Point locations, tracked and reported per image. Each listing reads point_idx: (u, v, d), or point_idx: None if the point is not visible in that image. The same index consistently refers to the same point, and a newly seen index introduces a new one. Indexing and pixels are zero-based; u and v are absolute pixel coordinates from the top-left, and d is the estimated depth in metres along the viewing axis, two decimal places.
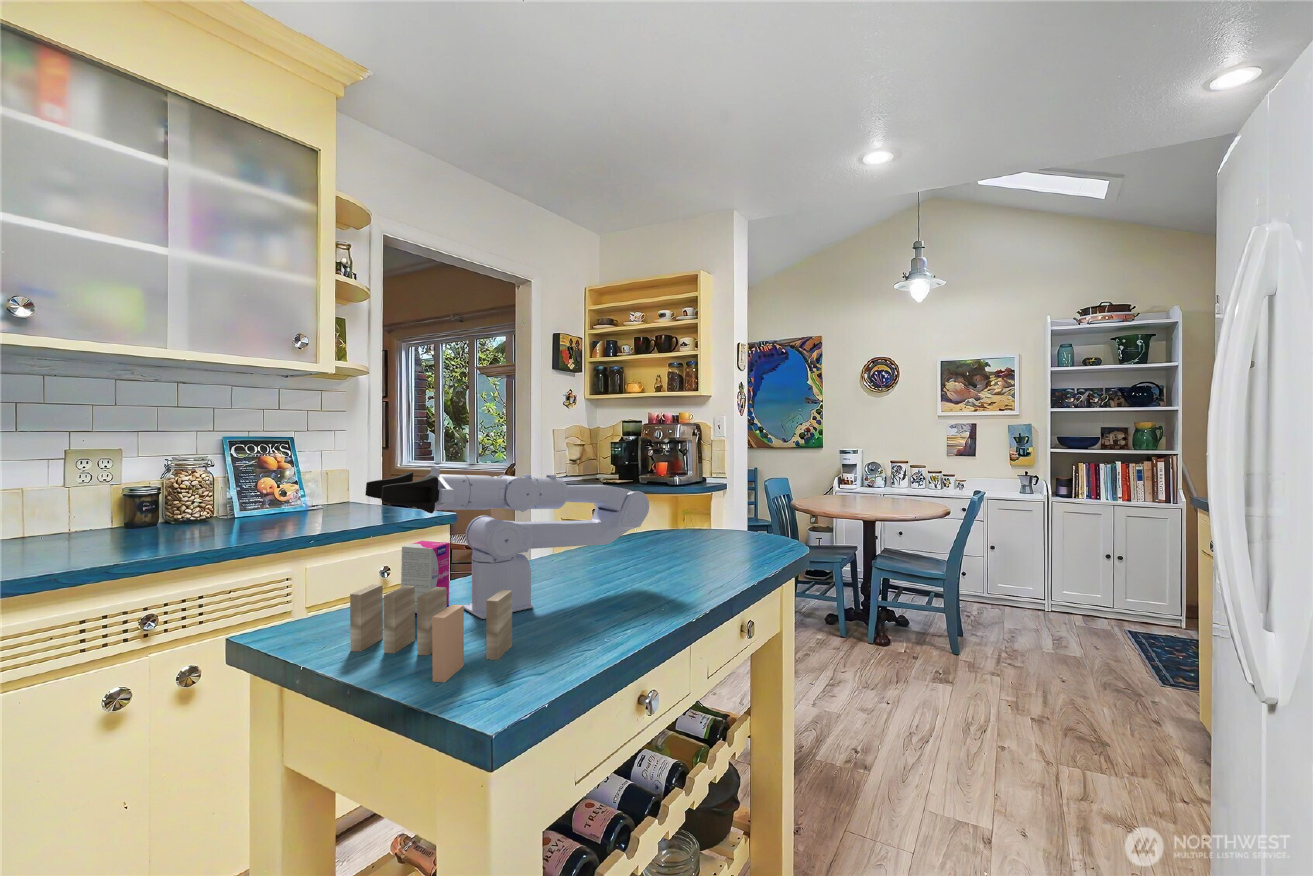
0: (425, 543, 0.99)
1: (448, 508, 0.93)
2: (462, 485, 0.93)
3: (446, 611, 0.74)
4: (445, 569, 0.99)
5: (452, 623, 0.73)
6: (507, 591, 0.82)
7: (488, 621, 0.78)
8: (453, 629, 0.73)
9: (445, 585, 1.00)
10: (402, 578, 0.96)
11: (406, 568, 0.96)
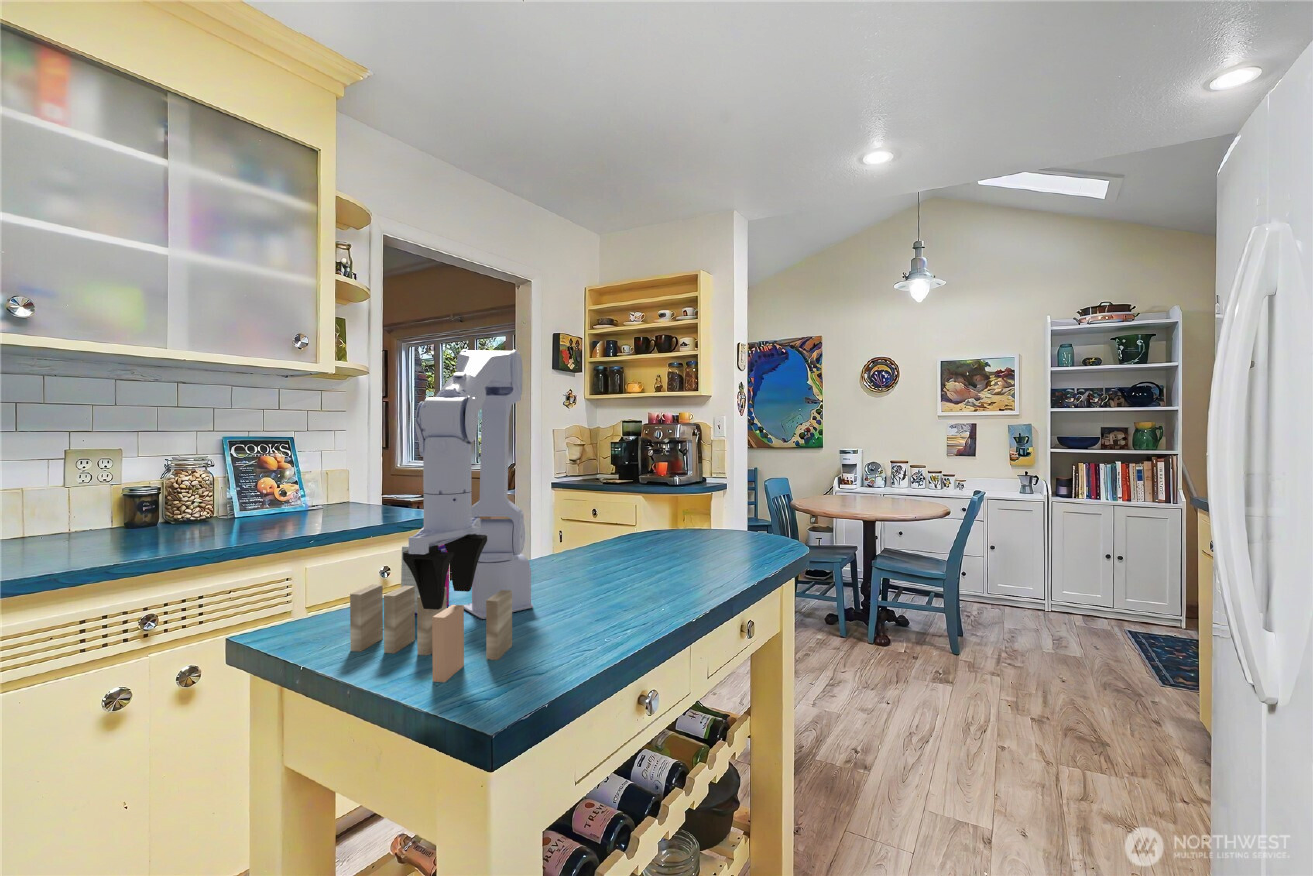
0: None
1: None
2: None
3: (446, 611, 0.74)
4: None
5: (452, 623, 0.73)
6: (507, 591, 0.82)
7: (488, 621, 0.78)
8: (453, 629, 0.73)
9: (445, 585, 1.00)
10: (402, 578, 0.96)
11: (406, 568, 0.96)
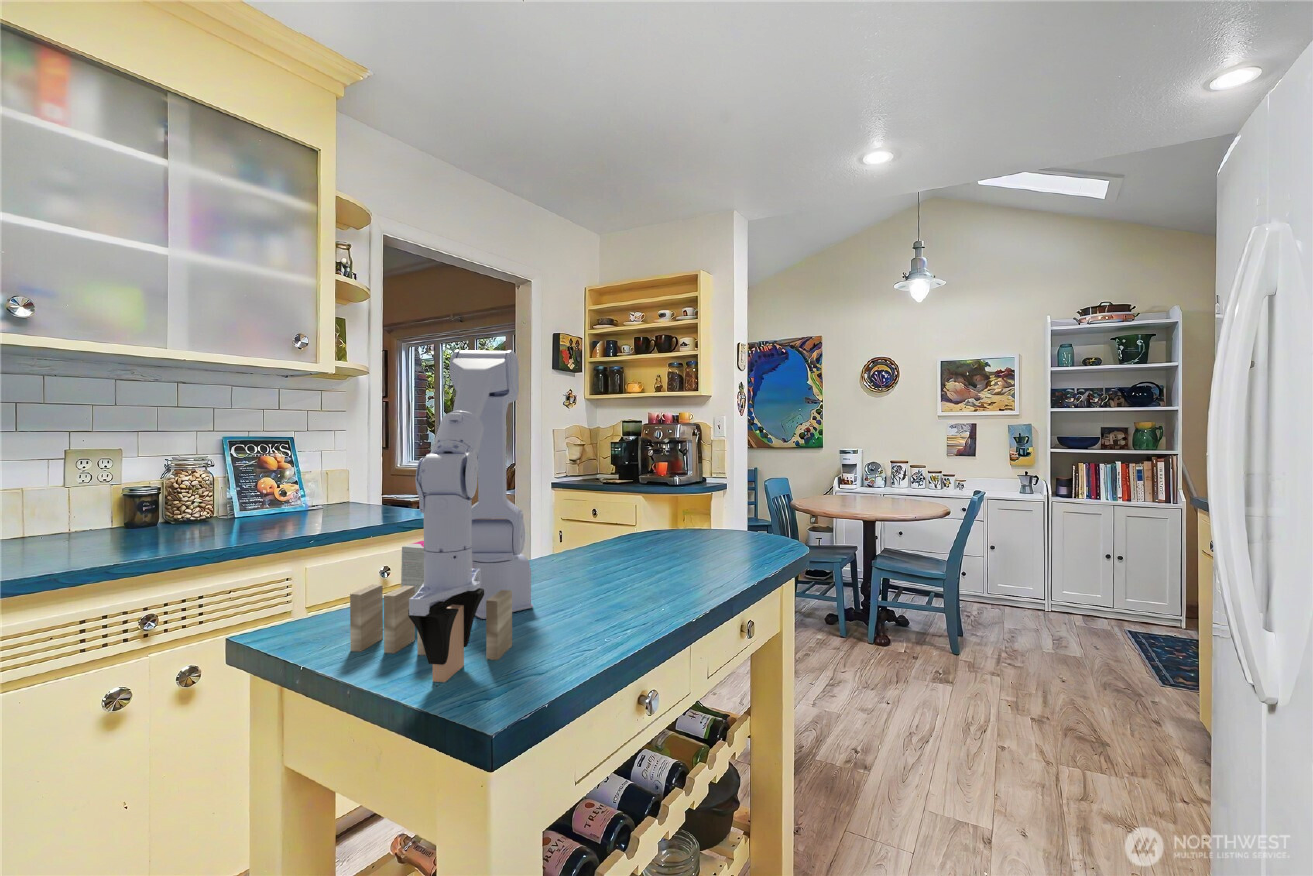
0: None
1: None
2: None
3: None
4: None
5: None
6: (507, 591, 0.82)
7: (488, 621, 0.78)
8: (453, 629, 0.73)
9: None
10: (402, 578, 0.96)
11: (406, 568, 0.96)
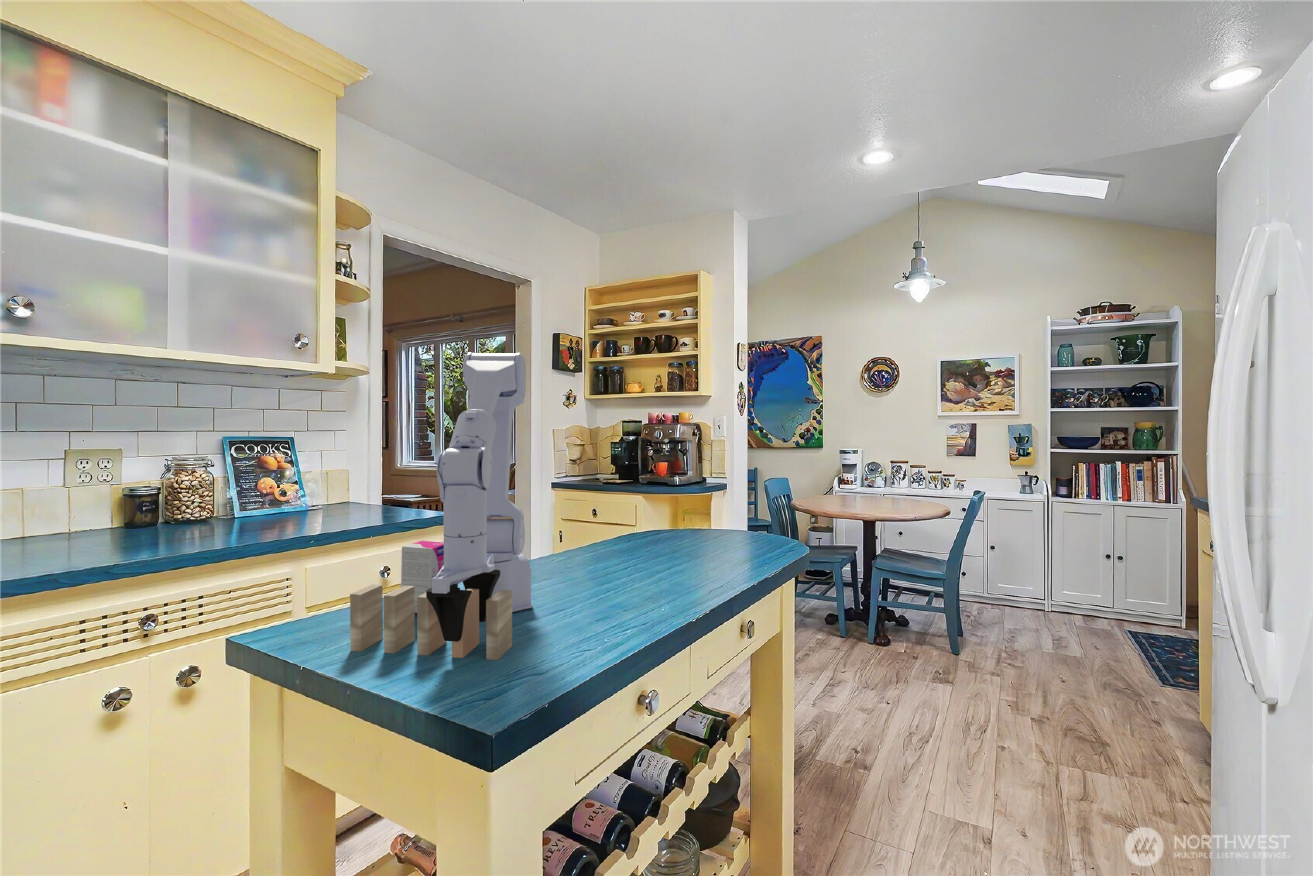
0: (425, 543, 0.99)
1: None
2: None
3: None
4: None
5: (469, 605, 0.81)
6: (507, 591, 0.82)
7: (488, 621, 0.78)
8: (470, 610, 0.81)
9: None
10: (402, 578, 0.96)
11: (406, 568, 0.96)
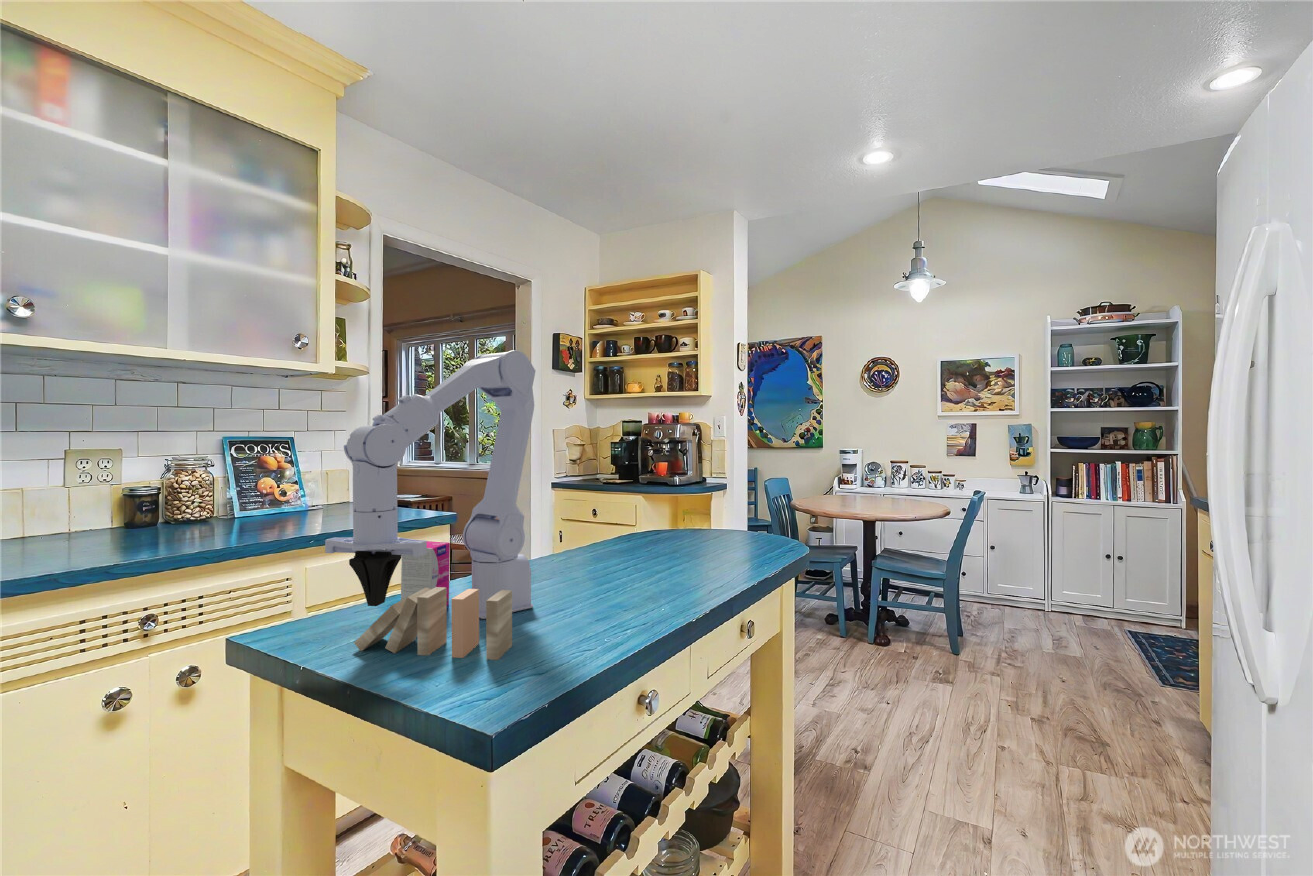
0: None
1: None
2: (386, 519, 0.81)
3: (464, 594, 0.81)
4: (445, 569, 0.99)
5: (469, 605, 0.81)
6: (507, 591, 0.82)
7: (488, 621, 0.78)
8: (470, 610, 0.81)
9: (445, 585, 1.00)
10: (402, 578, 0.96)
11: (406, 568, 0.96)
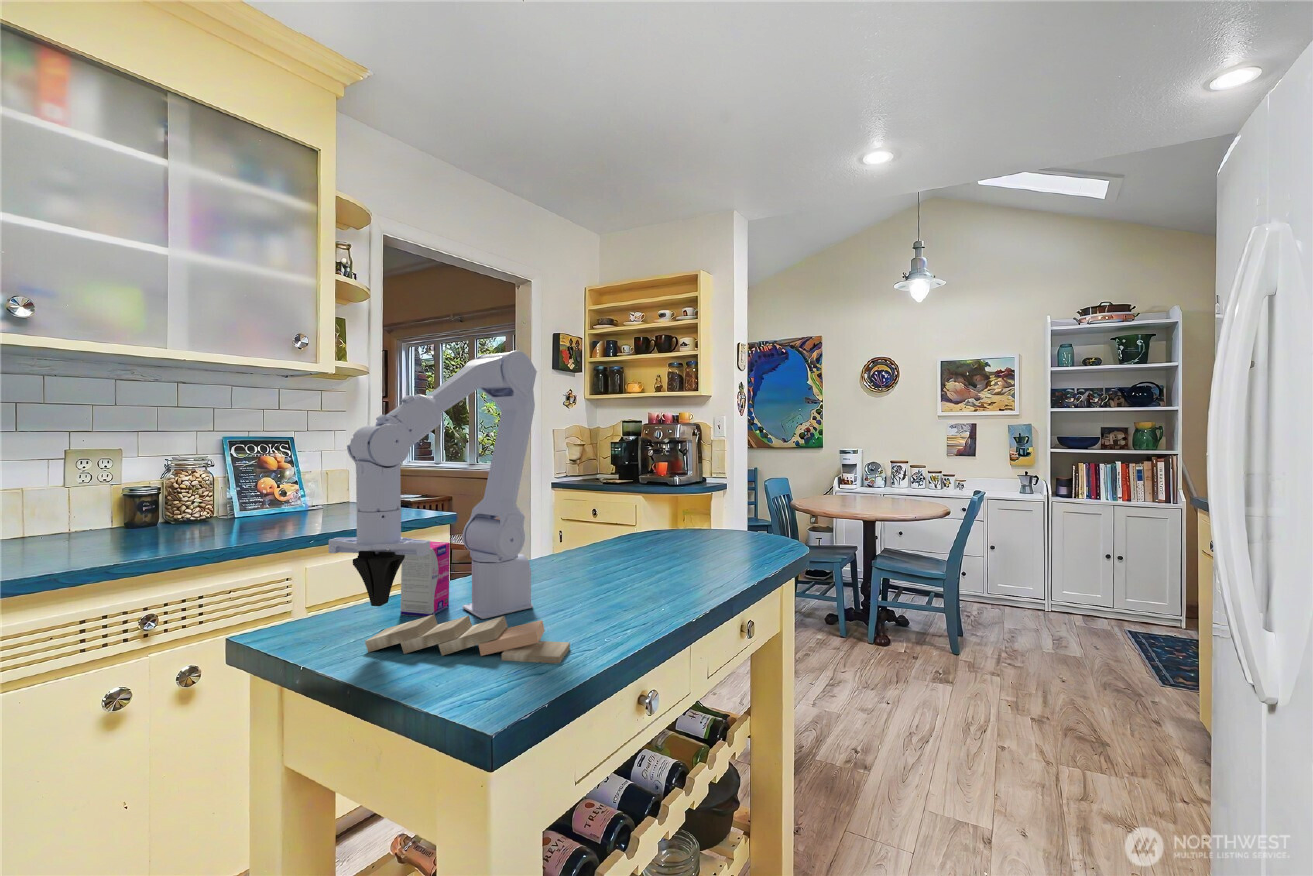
0: None
1: None
2: (389, 519, 0.81)
3: (540, 629, 0.82)
4: (445, 569, 0.99)
5: None
6: None
7: (538, 658, 0.77)
8: None
9: (445, 585, 1.00)
10: (402, 578, 0.96)
11: (406, 568, 0.96)
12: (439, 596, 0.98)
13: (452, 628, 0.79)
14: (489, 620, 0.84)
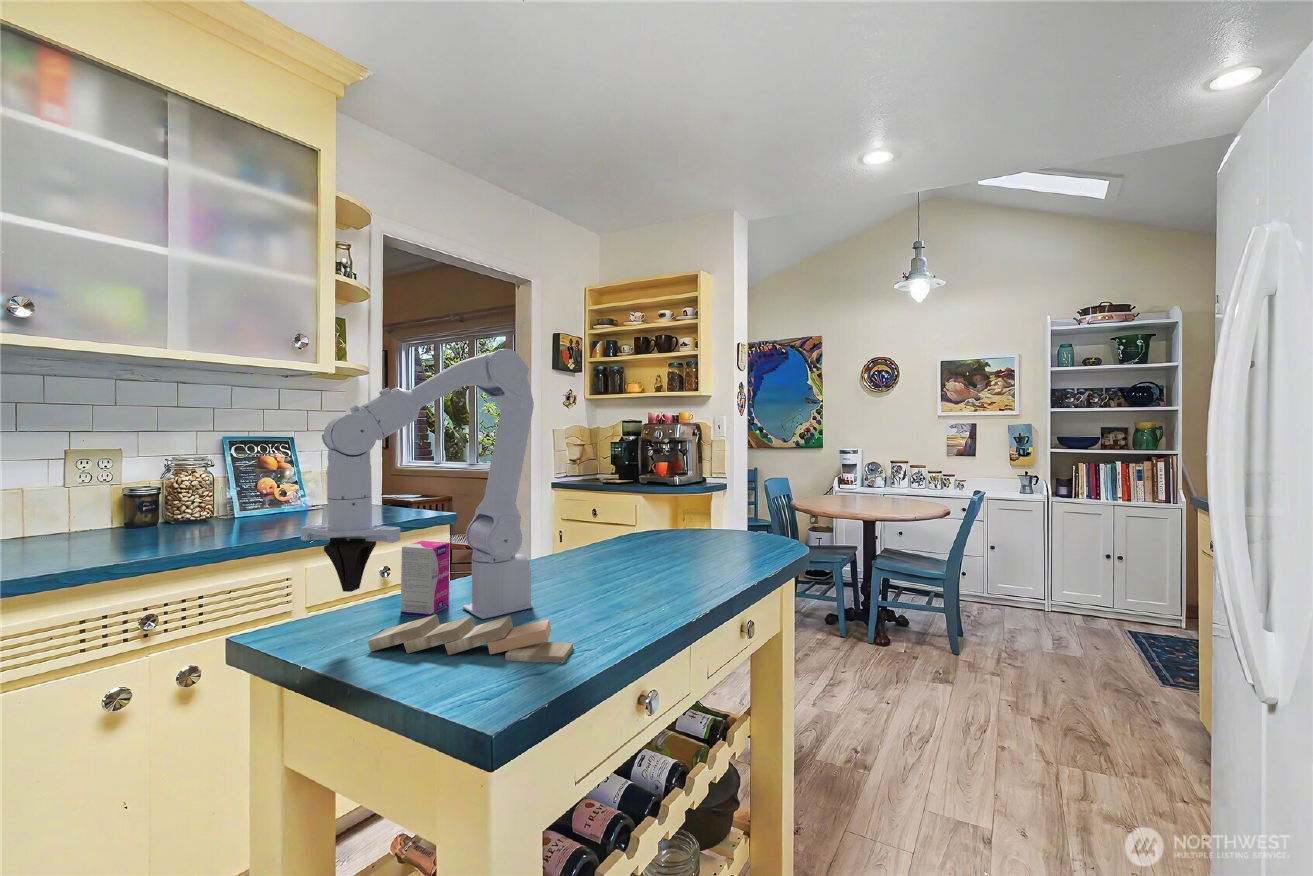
0: (425, 543, 0.99)
1: None
2: (360, 506, 0.83)
3: (548, 628, 0.82)
4: (445, 569, 0.99)
5: None
6: None
7: (542, 657, 0.78)
8: None
9: (445, 585, 1.00)
10: (402, 578, 0.96)
11: (406, 568, 0.96)
12: (439, 596, 0.98)
13: (456, 628, 0.79)
14: (495, 620, 0.84)
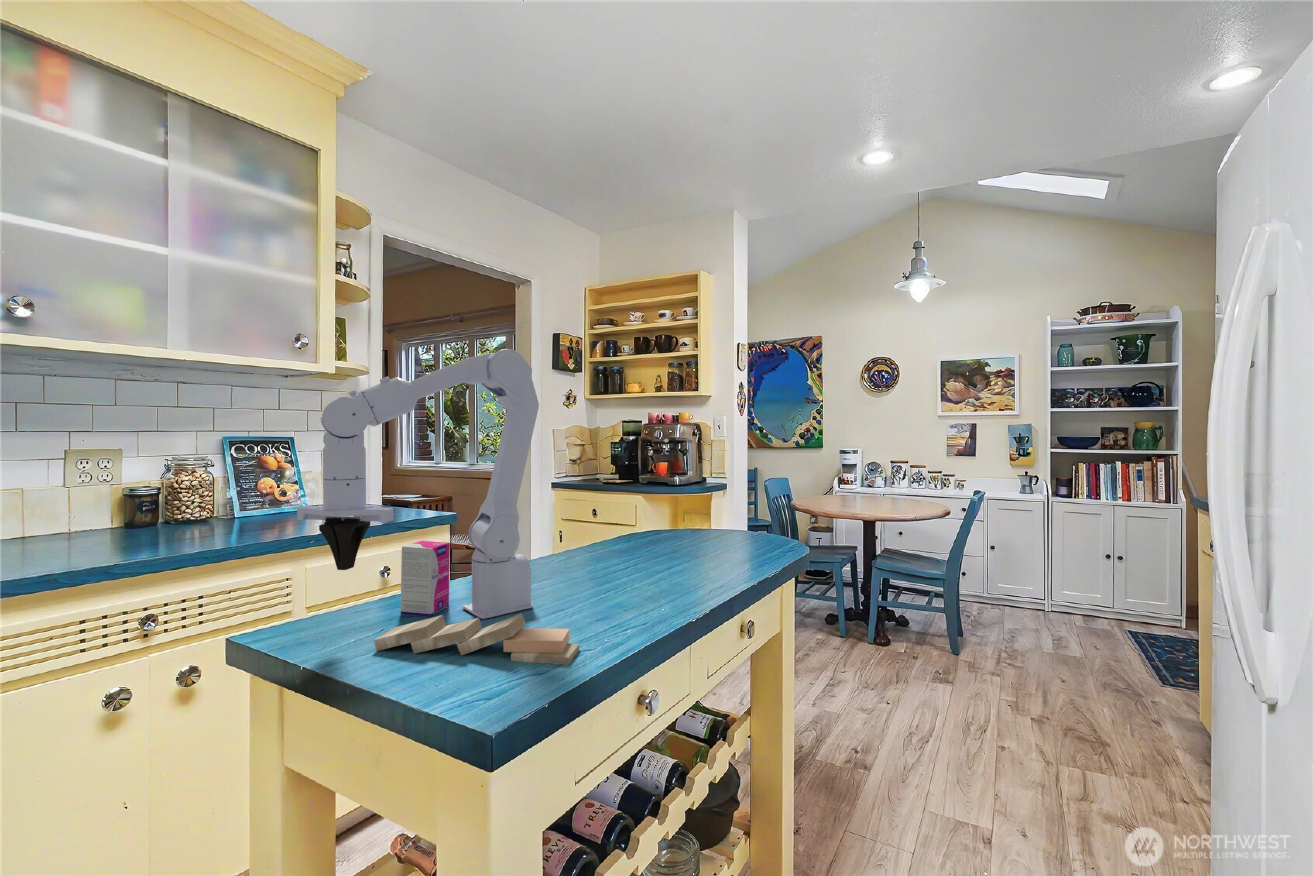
0: (425, 543, 0.99)
1: None
2: (354, 487, 0.86)
3: (565, 639, 0.81)
4: (445, 569, 0.99)
5: None
6: None
7: (547, 658, 0.77)
8: None
9: (445, 585, 1.00)
10: (402, 578, 0.96)
11: (406, 568, 0.96)
12: (439, 596, 0.98)
13: (463, 630, 0.79)
14: None
